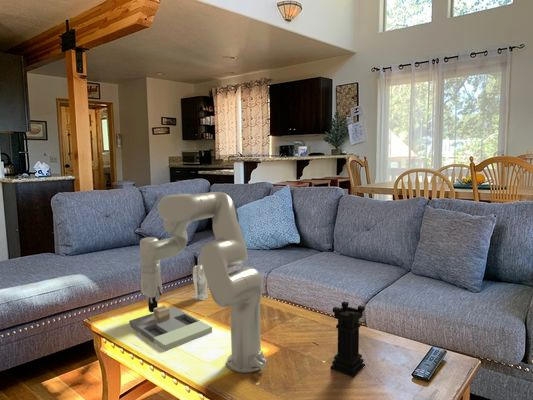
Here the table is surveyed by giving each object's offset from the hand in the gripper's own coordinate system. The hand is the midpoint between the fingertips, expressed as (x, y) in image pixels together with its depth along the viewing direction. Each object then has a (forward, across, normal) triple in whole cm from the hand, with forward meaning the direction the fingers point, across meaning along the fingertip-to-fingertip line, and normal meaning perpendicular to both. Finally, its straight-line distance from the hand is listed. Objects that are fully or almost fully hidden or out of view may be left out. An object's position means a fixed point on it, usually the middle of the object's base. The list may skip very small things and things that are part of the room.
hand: (153, 311), depth 167 cm
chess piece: (+4, +78, +26) cm, 82 cm away
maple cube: (+1, +7, 0) cm, 7 cm away
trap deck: (+3, +13, 0) cm, 13 cm away
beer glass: (+4, -5, +27) cm, 28 cm away
